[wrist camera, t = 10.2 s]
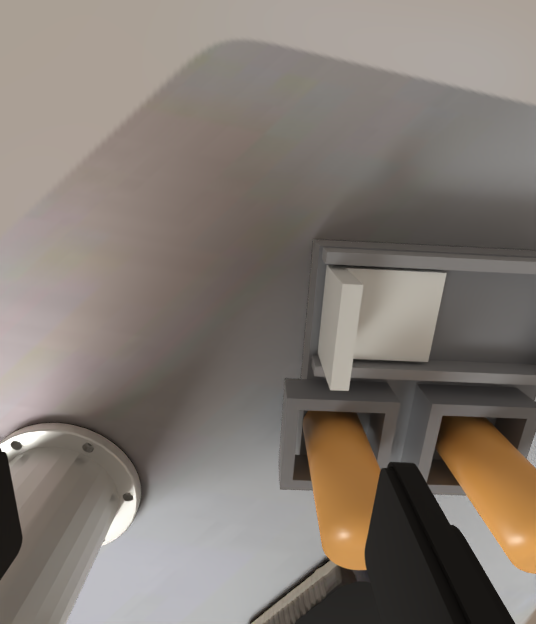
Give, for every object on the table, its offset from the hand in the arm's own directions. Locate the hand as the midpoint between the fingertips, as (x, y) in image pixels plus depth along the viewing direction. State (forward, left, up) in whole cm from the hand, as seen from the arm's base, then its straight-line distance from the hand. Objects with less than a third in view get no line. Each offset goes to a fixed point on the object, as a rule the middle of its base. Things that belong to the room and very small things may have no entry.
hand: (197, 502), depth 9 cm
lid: (+9, 0, -15) cm, 17 cm away
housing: (+13, -4, -18) cm, 23 cm away
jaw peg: (+16, -8, -15) cm, 23 cm away
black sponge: (+9, -31, -19) cm, 37 cm away
